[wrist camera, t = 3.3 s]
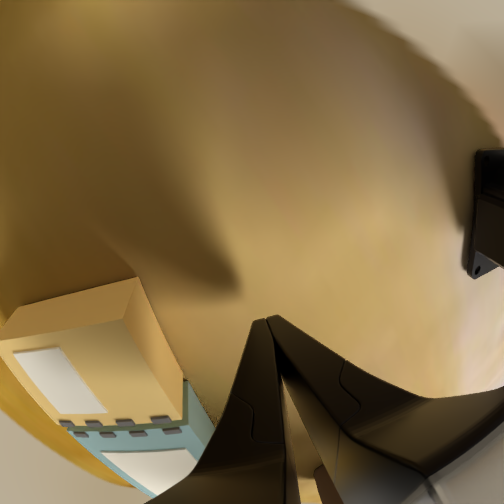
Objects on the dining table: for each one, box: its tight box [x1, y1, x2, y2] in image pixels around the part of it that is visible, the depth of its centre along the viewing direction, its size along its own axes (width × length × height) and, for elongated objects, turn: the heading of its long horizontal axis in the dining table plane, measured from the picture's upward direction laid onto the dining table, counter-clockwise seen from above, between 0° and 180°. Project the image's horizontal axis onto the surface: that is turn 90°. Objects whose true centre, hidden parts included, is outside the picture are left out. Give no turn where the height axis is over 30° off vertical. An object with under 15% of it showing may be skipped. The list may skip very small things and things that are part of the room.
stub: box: [0, 277, 183, 427], centre depth 9 cm, size 6×5×2 cm
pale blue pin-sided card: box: [67, 381, 216, 498], centre depth 12 cm, size 6×9×2 cm, turn 11°
